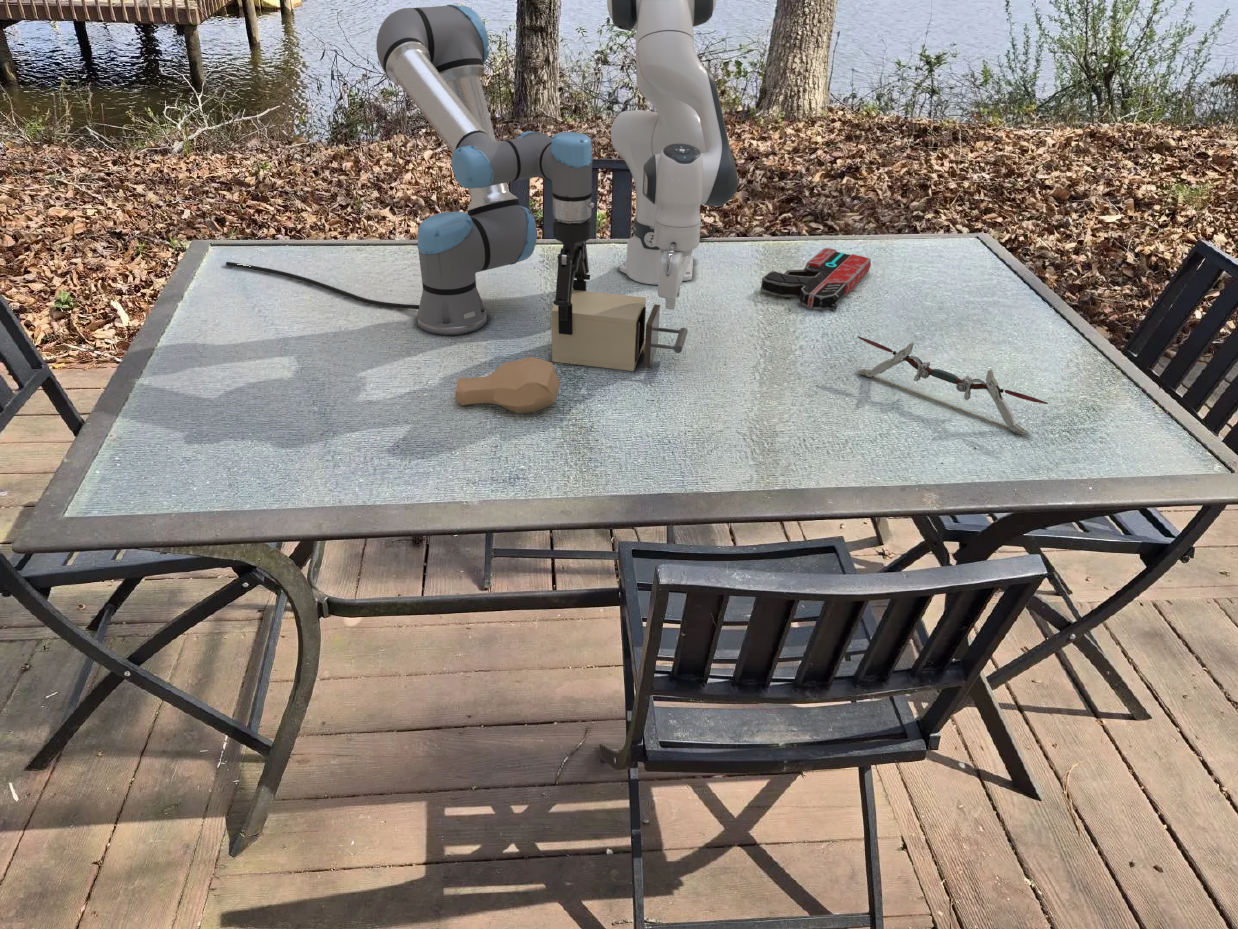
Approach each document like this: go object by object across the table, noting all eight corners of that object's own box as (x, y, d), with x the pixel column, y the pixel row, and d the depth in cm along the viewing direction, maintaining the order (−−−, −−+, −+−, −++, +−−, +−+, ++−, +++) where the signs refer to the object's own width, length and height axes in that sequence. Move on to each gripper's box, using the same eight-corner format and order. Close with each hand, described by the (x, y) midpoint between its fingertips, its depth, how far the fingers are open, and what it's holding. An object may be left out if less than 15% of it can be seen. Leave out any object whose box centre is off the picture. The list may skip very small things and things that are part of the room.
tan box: (643, 347, 189) (645, 297, 182) (633, 371, 179) (635, 319, 173) (565, 338, 191) (565, 288, 185) (552, 361, 182) (551, 310, 176)
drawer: (686, 348, 186) (690, 307, 181) (680, 370, 178) (683, 328, 173) (585, 337, 190) (585, 296, 184) (574, 358, 181) (574, 316, 176)
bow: (1038, 437, 161) (1054, 389, 156) (1034, 440, 160) (1051, 392, 155) (853, 367, 183) (861, 323, 177) (848, 370, 182) (857, 326, 176)
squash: (562, 419, 163) (554, 381, 157) (456, 427, 164) (445, 390, 158) (565, 383, 171) (557, 345, 164) (464, 391, 172) (453, 354, 166)
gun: (758, 278, 211) (834, 298, 203) (804, 240, 233) (875, 256, 225) (755, 296, 213) (831, 316, 205) (802, 256, 235) (872, 273, 227)
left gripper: (576, 240, 160) (576, 347, 172) (603, 201, 179) (602, 300, 192) (536, 236, 161) (539, 343, 173) (568, 198, 181) (569, 297, 193)
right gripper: (685, 255, 159) (681, 325, 167) (699, 219, 176) (694, 284, 183) (651, 251, 160) (648, 321, 168) (668, 217, 177) (664, 281, 184)
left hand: (572, 321), depth 182 cm, fingers closed on tan box, 11 cm apart
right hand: (672, 302), depth 176 cm, fingers open, 5 cm apart
